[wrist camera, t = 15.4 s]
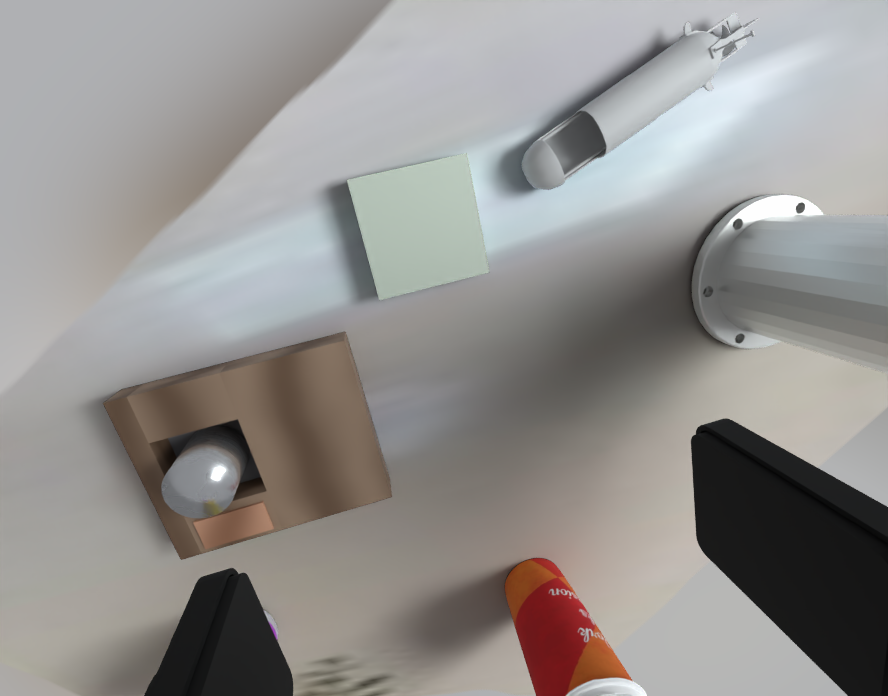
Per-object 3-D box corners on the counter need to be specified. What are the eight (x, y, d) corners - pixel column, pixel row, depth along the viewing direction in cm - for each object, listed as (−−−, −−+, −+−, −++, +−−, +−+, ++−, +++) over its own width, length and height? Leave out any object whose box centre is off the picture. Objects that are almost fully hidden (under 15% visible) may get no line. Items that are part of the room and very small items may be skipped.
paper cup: (578, 595, 45) (669, 753, 32) (506, 626, 45) (568, 800, 32) (559, 534, 43) (648, 678, 30) (482, 567, 42) (538, 728, 29)
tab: (460, 156, 32) (467, 152, 30) (482, 269, 35) (489, 272, 33) (347, 181, 31) (346, 179, 29) (378, 295, 34) (379, 300, 32)
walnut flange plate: (345, 331, 34) (344, 341, 32) (389, 479, 38) (391, 498, 36) (121, 389, 32) (101, 404, 30) (192, 537, 37) (180, 561, 34)
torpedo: (535, 209, 34) (575, 208, 28) (503, 151, 33) (537, 136, 27) (737, 66, 34) (821, 33, 28) (713, 0, 32) (797, -50, 26)
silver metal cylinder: (240, 418, 34) (223, 452, 30) (257, 469, 36) (243, 508, 31) (178, 432, 34) (151, 468, 29) (198, 483, 35) (174, 525, 31)
